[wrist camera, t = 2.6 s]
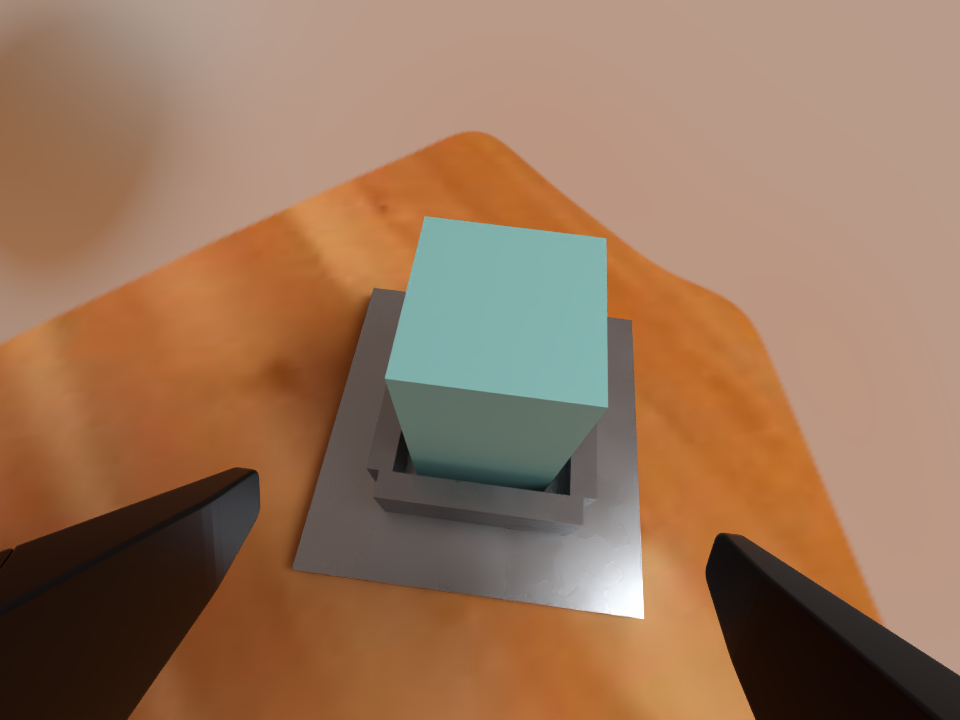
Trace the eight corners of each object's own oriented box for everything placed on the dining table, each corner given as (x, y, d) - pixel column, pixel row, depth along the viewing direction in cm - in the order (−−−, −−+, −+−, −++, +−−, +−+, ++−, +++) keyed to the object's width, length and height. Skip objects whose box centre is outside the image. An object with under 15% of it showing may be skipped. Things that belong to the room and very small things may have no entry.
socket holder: (633, 618, 19) (676, 621, 15) (301, 571, 19) (263, 563, 15) (624, 332, 25) (652, 286, 22) (377, 300, 26) (363, 250, 22)
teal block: (542, 494, 20) (608, 407, 11) (417, 477, 20) (384, 378, 11) (548, 381, 22) (606, 238, 14) (438, 367, 23) (425, 216, 14)
